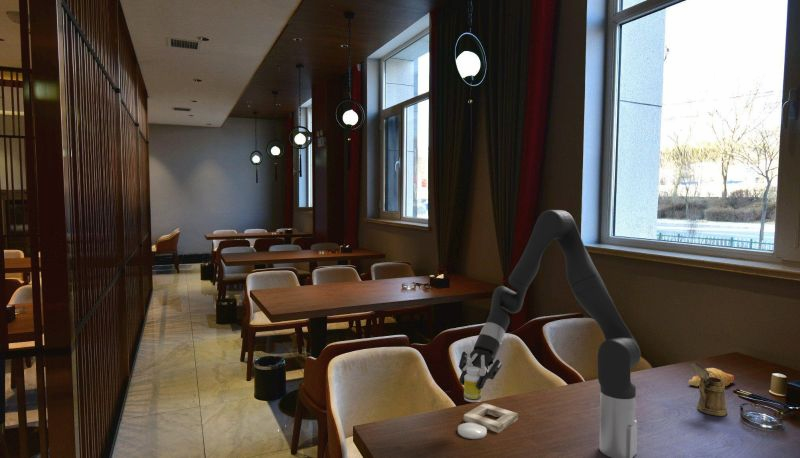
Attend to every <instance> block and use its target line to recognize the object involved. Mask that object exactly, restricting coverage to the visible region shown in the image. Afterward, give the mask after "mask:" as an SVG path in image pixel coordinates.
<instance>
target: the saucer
mask: <svg viewBox="0 0 800 458" xmlns="http://www.w3.org/2000/svg"><path fill="white" fill-rule="evenodd" d="M487 430H488V429H486V428H485V427H484V426H483V425H480V424H477V423H468V422H465V423H464V422H463V423H462V424H459V425H458V427H457V434H458V435H459V436H460V437H463V438H464V439H471V440H478V439H483V438H485V437H487V434H488V433H487V432H488V431H487Z"/></svg>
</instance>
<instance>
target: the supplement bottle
mask: <svg viewBox="0 0 800 458" xmlns="http://www.w3.org/2000/svg"><path fill="white" fill-rule="evenodd" d="M480 370H481V369H480V368H478V367H473V366H471V367H467V374H466V375H465V376H464V385H463V398H464V401H467V402H469V403H470V402H471V403H478V402H480V401H481V400H482V389H481V390H478V389H477V388H476V385H477V382H478V380H479V378H480V376H481V375H480Z"/></svg>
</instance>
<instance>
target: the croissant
mask: <svg viewBox="0 0 800 458" xmlns="http://www.w3.org/2000/svg"><path fill="white" fill-rule="evenodd" d="M705 369H706V370H707V372H708V373H709V376H710V377H716V378H719V379H721V380H723V384H724V386H726V387H727V386H729V385H731V384H732V383H734V381H735V379H736V376H735V375H733V374H730V373H727V372H724V371H723V370H722V369H721V368H720V369H719V368H716V367H707V368H705ZM700 380H701V379H700V377H698V376H697V375H694V376H692V378H690V379H688V384H689V385H691V386H694V387H698V386H699V385H700ZM730 383H731V384H730Z"/></svg>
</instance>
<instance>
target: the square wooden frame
mask: <svg viewBox="0 0 800 458" xmlns="http://www.w3.org/2000/svg"><path fill="white" fill-rule="evenodd" d="M486 415H490V416H493V417H495V418H496V417H497V419H491V418H488V417H484V416H486ZM518 420H519V413H518V412H514V411H511V410H508V409H504V408H501V407H498V406H495V405H492V404H489V403H485V402H484V403H481V404H480V405H478V406H476V407H475V408H473V409H471V410H469V411H468V412H465V414H463V422H465V423H477V424H480V425H483V426H484V427H485V428H486V429H487V430H490V431H492V432H495V433H497V434H499V433H501V432H502V431H504V430H505V429H507V427H509V426H511V425H512V424H513V423H515V422H516V421H518Z"/></svg>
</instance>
